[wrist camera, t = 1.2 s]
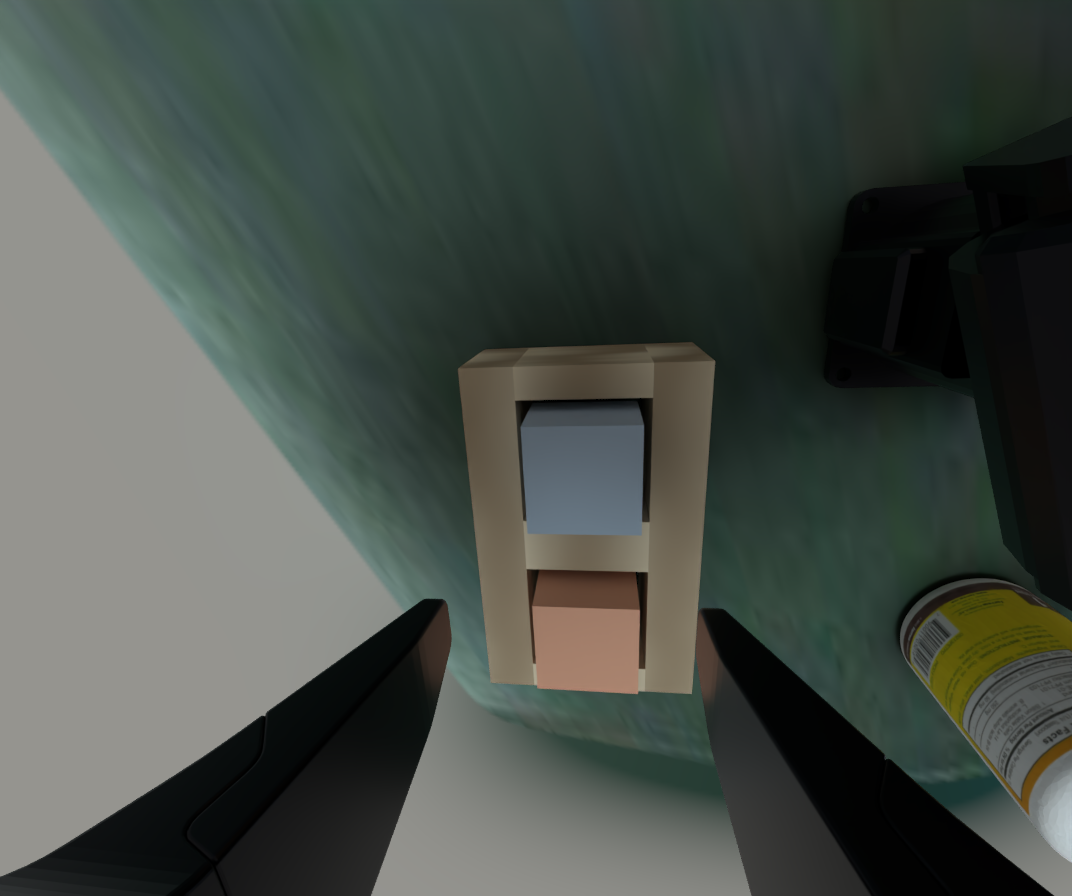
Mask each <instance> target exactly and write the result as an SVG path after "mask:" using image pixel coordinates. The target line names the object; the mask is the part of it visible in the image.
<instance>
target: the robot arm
mask: <svg viewBox="0 0 1072 896" xmlns="http://www.w3.org/2000/svg"><path fill="white" fill-rule="evenodd" d="M963 170H964V175H965V181H966V182H956V183H942V184H928V185H914V186H900V187H885V188H873V189H869V190H865V191H862V192H860V193H858V194H857V195H855V196H854V198H853V199H852V200H851V201H850V204H849V207H848V213H847V220H846V227H845V234H844V240H843V247H842V252H841V253H840V254H839V255H838V256H837V257H836V258H835V259H834V262H833V268H832V275H831V282H830V290H829V297H828V304H827V311H826V318H825V325H824V332H825V334H826V335H827V336H828V337H829V343H828V350H827V357H826V364H825V371H824V377H825V379H826V381H827V382H828V383H830V384H831V385H833V386H835V387H838V388H865V387H910V386H942V387H945V388H947V389H950V390H953V391H956V392H959V393H962V394H964V395H967V396H970V397H973V398H974V399H975V404H976V409H977V414H978V419H979V424H980V429H981V434H982V439H983V444H984V449H985V454H986V459H987V464H988V469H989V474H990V479H991V484H992V489H993V494H994V499H995V504H996V509H997V514H998V519H999V524H1000V529H1001V534H1002V539H1003V544H1004V545H1005V546H1006V547H1007V548H1008V550H1009V551H1010V552H1011V553H1012V554H1013V556H1014V557H1015V558H1016V559H1017V560H1018V562H1019V563H1020V564H1021V565H1022V567H1023V568H1024V569H1025V570H1026V571H1027V572H1028V573H1030V574H1031V575H1032V576H1034V579H1035V585H1036V588H1037V589H1038V590H1039V591H1040V592H1041V593H1042V594H1044V595H1045V596H1047V597H1049V598H1051V599H1052V600H1054V601H1056V602H1057V603H1059V604H1061V605H1063V606H1064V607H1066V608H1068V609H1069V610H1071V611H1072V117H1070V118H1068V119H1065V120H1063V121H1061V122H1059V123H1056V124H1054V125H1052V126H1050V127H1047V128H1045V129H1043V130H1041V131H1038V132H1036V133H1034V134H1032V135H1029V136H1027V137H1025V138H1023V139H1020V140H1018V141H1016V142H1014V143H1011V144H1009V145H1007V146H1005V147H1002V148H1000V149H998V150H996V151H993V152H991V153H989V154H987V155H984V156H982V157H980V158H978V159H975V160H973V161H971V162H969V163H967V164H965V165H963ZM866 199H870V200H871V201H872V202H873V208H872V210H871V211H870V212H869V213H868V214H865V213H864V212H863V211H862V205H863V202H864V201H865V200H866ZM844 367H845V368H846V374H845V376H844V377H842V378H840V379H837V378H836V373H837V371H838V370H839V369H841V368H844ZM450 648H451V628H450V620H449V613H448V606H447V603H446V601H445V600H443V599H424V600H422V601H420V602H419V603H418V604H416V605H415V606H413V607H412V608H411V609H409V610H408V611H406V612H405V613H404V614H402V615H401V616H400V617H398V618H397V619H395V620H394V621H393V622H391V623H390V624H388V625H387V626H386V627H384V628H383V629H381V630H380V631H379V632H377V633H376V634H375V635H373V636H372V637H370V638H369V639H368V640H366V641H365V642H364V643H362V644H361V645H359V646H358V647H357V648H355V649H354V650H352V651H351V652H350V653H348V654H347V655H345V656H344V657H343V658H341V659H340V660H338V661H337V662H336V663H334V664H333V665H331V666H330V667H329V668H327V669H326V670H325V671H323V672H322V673H320V674H319V675H318V676H316V677H315V678H313V679H312V680H311V681H309V682H308V683H306V684H305V685H304V686H302V687H301V688H300V689H298V690H297V691H295V692H294V693H293V694H291V695H290V696H288V697H287V698H286V699H284V700H283V701H282V702H280V703H279V704H277V705H276V706H275V707H273V708H272V709H270V710H269V711H268V712H267V713H266V716H261V717H259V718H258V719H256V720H255V721H253V722H252V723H251V724H249V725H248V726H247V727H245V728H244V729H242V730H241V731H240V732H238V733H237V734H235V735H234V736H232V737H231V738H230V739H228V740H227V741H225V742H224V743H222V744H221V745H219V746H218V747H217V748H215V749H214V750H212V751H211V752H209V753H208V754H206V755H205V756H203V757H202V758H201V759H199V760H197V761H196V762H194V763H193V764H191V765H190V766H188V767H186V768H185V769H183V770H182V771H180V772H179V773H177V774H176V775H174V776H173V777H171V778H169V779H168V780H166V781H165V782H163V783H162V784H160V785H159V786H157V787H155V788H154V789H152V790H151V791H149V792H147V793H146V794H144V795H143V796H141V797H140V798H138V799H136V800H135V801H133V802H132V803H130V804H128V805H127V806H125V807H124V808H122V809H121V810H119V811H117V812H116V813H114V814H113V815H111V816H109V817H108V818H106V819H104V820H103V821H101V822H100V823H98V824H97V825H95V826H93V827H92V828H90V829H89V830H87V831H85V832H84V833H82V834H81V835H79V836H78V837H76V838H74V839H73V840H71V841H70V842H68V843H66V844H65V845H63V846H62V847H60V848H58V849H56V850H55V851H53V852H52V853H50V854H48V855H46V856H45V857H43V858H41V859H39V860H37V861H35V862H33V863H31V864H29V865H27V866H25V867H23V868H20V869H18V870H16V871H13V872H11V873H9V874H6V875H4V876H1V877H0V896H371V894H372V891H373V888H374V886H375V883H376V880H377V877H378V874H379V872H380V869H381V866H382V863H383V861H384V858H385V855H386V852H387V849H388V847H389V844H390V841H391V838H392V835H393V833H394V830H395V827H396V824H397V822H398V819H399V816H400V813H401V810H402V808H403V805H404V802H405V799H406V796H407V794H408V791H409V788H410V785H411V782H412V780H413V777H414V774H415V771H416V769H417V766H418V763H419V760H420V757H421V755H422V751H423V749H424V746H425V743H426V741H427V738H428V734H429V732H430V729H431V726H432V722H433V718H434V714H435V710H436V706H437V702H438V698H439V694H440V689H441V685H442V681H443V677H444V673H445V669H446V664H447V660H448V656H449V652H450ZM696 658H697V665H698V671H699V677H700V684H701V690H702V696H703V703H704V709H705V716H706V722H707V728H708V734H709V739H710V745H711V749H712V753H713V757H714V761H715V765H716V768H717V772H718V776H719V779H720V783H721V786H722V790H723V794H724V797H725V801H726V805H727V808H728V812H729V815H730V819H731V823H732V826H733V829H734V834H735V837H736V841H737V844H738V848H739V852H740V855H741V859H742V862H743V866H744V869H745V873H746V877H747V881H748V884H749V888H750V892H751V895H752V896H1054V895H1053V894H1051V893H1050V892H1049V891H1048V890H1046V889H1045V888H1044V887H1042V886H1041V885H1040V884H1039V883H1037V882H1036V881H1035V880H1033V879H1032V878H1031V877H1030V876H1029V875H1027V874H1026V873H1025V872H1023V871H1022V870H1021V869H1020V868H1018V867H1017V866H1016V865H1015V864H1013V863H1012V862H1011V861H1010V860H1008V859H1007V858H1006V857H1004V856H1003V855H1002V854H1001V853H1000V852H998V851H997V850H996V849H995V848H994V847H992V846H991V845H990V844H989V843H987V842H986V841H985V840H984V839H982V838H981V837H980V836H979V835H978V834H976V833H975V832H974V831H973V830H971V829H970V828H969V827H968V826H966V825H965V824H964V823H963V822H962V821H960V820H959V819H958V818H956V817H955V816H954V815H953V814H952V813H951V812H950V811H949V810H947V809H946V808H945V807H944V806H943V805H942V804H940V803H939V802H938V801H937V800H936V799H935V798H934V797H932V796H931V795H930V794H929V793H928V792H927V791H926V790H924V789H923V788H922V787H921V786H920V785H919V784H917V783H916V782H915V781H914V780H913V779H912V778H911V777H910V776H909V775H907V774H906V773H905V772H904V771H903V770H902V769H901V768H900V767H899V766H897V765H896V764H895V763H894V762H893V761H892V760H890V759H886V756H885V754H884V753H883V752H882V751H881V750H879V749H878V748H877V747H876V746H875V745H874V744H873V743H872V742H871V741H869V740H868V739H867V738H866V737H865V736H864V735H863V734H862V733H861V732H859V731H858V730H857V729H856V728H855V727H854V726H853V725H852V724H851V723H850V722H848V721H847V720H846V719H845V718H844V717H843V716H842V715H841V714H840V713H838V712H837V711H836V710H835V709H834V708H833V707H832V706H831V705H830V704H828V703H827V702H826V701H825V700H824V699H823V698H822V697H821V696H820V695H819V694H817V693H816V692H815V691H814V690H813V689H812V688H811V687H810V686H809V685H807V684H806V683H805V682H804V681H803V680H802V679H801V678H800V677H799V676H797V675H796V674H795V673H794V672H793V671H792V670H791V669H790V668H789V667H787V666H786V665H785V664H784V663H783V662H782V661H781V660H780V659H779V658H778V657H776V656H775V655H774V654H773V653H772V652H771V651H770V650H769V649H768V648H766V647H765V646H764V645H763V644H762V643H761V642H760V641H759V640H758V639H756V638H755V637H754V636H753V635H752V634H751V633H750V632H749V631H748V630H747V629H745V628H744V627H743V626H742V625H741V624H740V623H739V622H738V621H737V620H735V619H734V618H733V617H732V616H731V615H730V614H729V613H728V612H727V611H725V610H724V609H719V608H702V609H700V611H699V613H698V623H697V637H696ZM885 759H886V760H885Z"/></svg>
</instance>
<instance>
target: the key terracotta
mask: <svg viewBox="0 0 1072 896" xmlns="http://www.w3.org/2000/svg"><path fill="white" fill-rule="evenodd" d="M532 610H533V626H534V641H535V656H536V671H537V687H538V688H542V689H560V690H577V691H595V692H613V693H631V694H638V671H639V628H640V606H639V598H638V589H637V581H636V572H622V571H581V570H541V569H540V570H539V575H538V580H537V585H536V590H535V595H534V600H533V605H532Z"/></svg>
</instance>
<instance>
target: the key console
mask: <svg viewBox="0 0 1072 896" xmlns="http://www.w3.org/2000/svg"><path fill="white" fill-rule="evenodd" d="M714 371H715V360H713V359H712V358H711V357H710V356H709V355H707V354H706V353H705V352H704V351H702V350H701V349H700V348H699V347H698V346H696V345H695V344H694V343H693V342H681V343H652V344H623V345H594V346H565V347H536V348H507V349H484V350H483V351H482V352H480V353H479V354H477V355H476V356H475V357H473V358H472V359H470V360H469V361H468V362H466V363H465V364H463V365H462V366H461V367H459V368H458V376H459V385H460V395H461V404H462V414H463V423H464V433H465V442H466V451H467V461H468V470H469V480H470V489H471V499H472V508H473V518H474V527H475V536H476V546H477V555H478V565H479V574H480V584H481V593H482V603H483V612H484V621H485V631H486V640H487V650H488V659H489V669H490V678H491V683H506V684H524V685H537V671H536V656H535V641H534V626H533V610H532V605H533V600H534V595H535V590H536V585H537V580H538V575H539V570H540V569H541V570H581V571H622V572H639V580H638V598H639V606H640V628H639V671H638V691H650V692H668V693H686V694H692V684H693V670H694V655H695V641H696V627H697V613H698V598H699V584H700V570H701V556H702V542H703V527H704V513H705V499H706V485H707V471H708V456H709V442H710V428H711V414H712V400H713V385H714ZM616 398H642V419H643V423H644V453H643V497H642V536H639V535H573V534H527V519H526V503H525V488H524V473H523V457H522V442H521V425H522V423H523V421H524V419H525V417H526V415H527V413H528V411H529V409H530V407H531V405H532V400H568V399H616Z"/></svg>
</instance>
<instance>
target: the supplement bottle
mask: <svg viewBox="0 0 1072 896" xmlns="http://www.w3.org/2000/svg"><path fill="white" fill-rule="evenodd" d="M900 645H901V649H902V653H903V655H904V658H905V660H906V661H907V663H908V664H909V666H910V667H911V668H912V670H913V671H914V672H915V674H916V675H917V676H918V678H919V679H920V680H921V681H922V683H923V684H924V685H925V686H926V688H927V689H928V690H929V692H930V693H931V694H932V695H933V697H934V698H935V699H936V701H937V702H938V703H939V704H940V706H941V707H942V708H943V710H944V711H945V712H946V713H947V715H948V716H949V717H950V719H951V720H952V721H953V722H954V724H955V725H956V726H957V728H958V729H959V730H960V731H961V733H962V734H963V735H964V737H965V738H966V739H967V740H968V742H969V743H970V744H971V746H972V747H973V748H974V749H975V751H976V752H977V753H978V754H979V756H980V757H981V758H982V760H983V761H984V762H985V763H986V765H987V766H988V767H989V769H990V770H991V771H992V772H993V774H994V775H995V776H996V778H997V779H998V780H999V781H1000V783H1001V784H1002V785H1003V786H1004V788H1005V789H1006V790H1007V792H1008V793H1009V794H1010V796H1011V797H1012V798H1013V799H1014V801H1015V802H1016V803H1017V805H1018V806H1019V807H1020V808H1021V810H1022V811H1023V812H1024V813H1025V815H1026V816H1027V817H1028V819H1029V820H1030V821H1031V823H1032V824H1033V825H1034V826H1035V828H1036V829H1037V830H1038V832H1039V833H1040V834H1041V835H1042V837H1043V838H1044V839H1045V840H1046V841H1047V842H1048V844H1049V845H1050V846H1051V847H1052V848H1053V849H1054V850H1055V851H1056V852H1057V853H1058V854H1060V855H1061V856H1062V857H1064V858H1065V859H1067V860H1068V861H1070V862H1071V863H1072V622H1071V621H1070V620H1068V619H1067V618H1065V617H1064V616H1063V615H1061V614H1060V613H1059V612H1058V611H1056V610H1055V609H1054V608H1052V607H1051V606H1050V605H1048V604H1047V603H1046V602H1044V601H1043V600H1041V599H1040V598H1038V597H1037V596H1036V595H1034V594H1033V593H1031V592H1030V591H1028V590H1026V589H1024V588H1022V587H1020V586H1018V585H1016V584H1013V583H1010V582H1006V581H1002V580H997V579H987V578H975V579H966V580H960V581H956V582H952V583H949V584H947V585H944V586H941V587H939V588H937V589H935V590H933V591H932V592H930V593H928V594H927V595H925V596H924V597H923V598H921V599H920V600H919V601H918V602H917V603H916V604H915V605H914V606H913V607H912V608H911V610H910V611H909V612H908V614H907V615H906V617H905V619H904V621H903V624H902V627H901V632H900Z"/></svg>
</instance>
